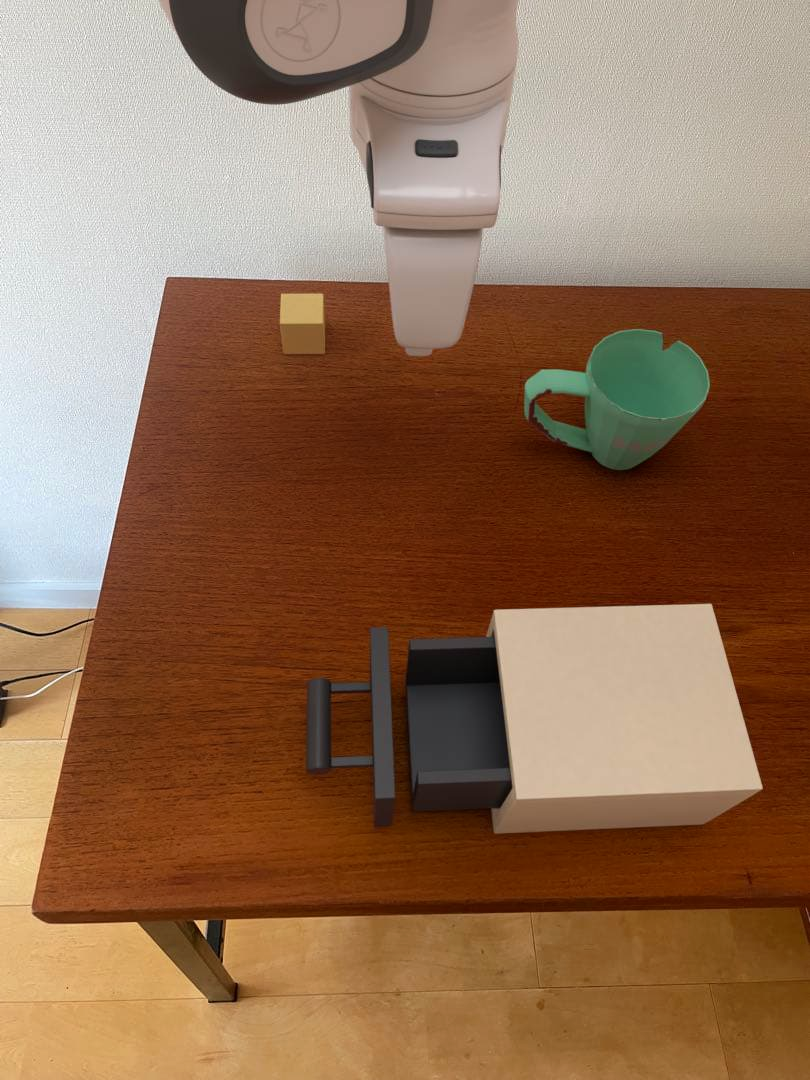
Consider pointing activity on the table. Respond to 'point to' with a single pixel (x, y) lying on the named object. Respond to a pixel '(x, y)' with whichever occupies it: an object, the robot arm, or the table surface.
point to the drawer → (425, 726)
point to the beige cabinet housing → (618, 718)
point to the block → (302, 323)
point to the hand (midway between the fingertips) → (415, 299)
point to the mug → (624, 397)
